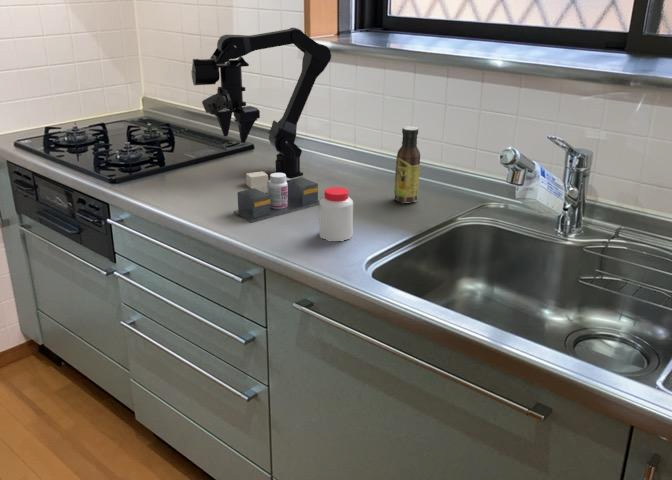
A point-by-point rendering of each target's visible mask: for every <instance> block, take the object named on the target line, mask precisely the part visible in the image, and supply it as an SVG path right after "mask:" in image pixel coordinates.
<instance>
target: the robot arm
mask: <svg viewBox="0 0 672 480" xmlns="http://www.w3.org/2000/svg"><path fill="white" fill-rule="evenodd" d="M289 45H294V46H296V48H298V49H299V51H301V52H302V53H303V56H302V62H301V63H302V64H301V73H300V75H299V77H298V79H297V83H296V84H295V87H294V90H293V91H292V94H291V96H290V98H289V101H288V103H287V106H286V108H285V110H284V113H283V115H282V117H281V118H280V119H279V120H278V121H276V120H273V121H272V123H271V127H270V129H269V130H268V131H267V132H268V134H269V135H268V141H269V143H270V145H271V146H272V147H273V148H275V151H276V152H278V154H276V160H275V171H274V172H273V173H284V174H286V177H287V178H289V179H292V178H295V177H300V176H303V175H304V173H303V172H302V171H301V159H300V158H301V155H302V153H303V150H302V149H301V148H300V147H299V146H298V145H297V144H296V143H295V142H296V138H297V127H298V122H299V121H300V118H301V115H302V114H303V111H304V108H305V106H306V104H307V101H308V99H309V96H310V94H311V91H312V90H313V87H314V85H315V82H316V80H317V78H318V77H319V76H320V75H321V74H322V73H323V72H324V70H325V69H326V67H328V65H329V63H330V62H331V59H332V53H331V49H330V48H329V47H328V46H327V45H324V44H322V43H319V42H317V41H315V40H314V39H312V38H311V37H309V36H308V35H307V34H305V33H304V31H302V29H300V28H297V27H290V28H286V29H281V30H275V31H269V32H263V33H258V34H253V35H252V34H250V35H247V34H246V35H244V34H223V35H221V36H220V37H219V39H218V40H217V43H216V46H217V47H216V49H215V50H214V52H213V53H212V54H211V56H210V57H209V58H206V59H203V58H202V59H201V58H200V59H199V58H193V59H192V66H191V79H192V83H193V86H209V85H216V83H217V82H219V81H220V86H218V87H217V88H216V90H217V92H216V93H215V94H213V95H210V96H209V97H207V98H205V99H203V100H202V101H201V103H202V106H203V108H204V111H205V113H207V114H210V115H213V116H215V118H216V119H217V121H218V123H219V127H220V130H221V132H222V134H223V137H228V135H229V132H230V127H231V122H232V116H233V117H234V119H233V121H234V122H235V124H237V125H238V132H239V139H240V143H241V144H244V143H246V142H247V138H248V136H249V134H250V132H251V130H252V128H253V126H254V124H255V123H256V122H257V121H258V119H260V118H261V114H260V113H261V112H260V110H259V108H258V107H255V106H252V105H247V102H246V101H244V98H243V96H244V95H243V92H245V91H246V86H243V74H242V67H249V66H250V63H248V62H247V61H246V60H245V59H244V56H247V55H248V54H251V53H252V52H255V51H259V50H265V49H272V48H276V47H282V46H289Z"/></svg>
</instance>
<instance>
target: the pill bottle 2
mask: <svg viewBox="0 0 672 480" xmlns="http://www.w3.org/2000/svg"><path fill="white" fill-rule="evenodd" d="M349 194H350V193H349V189H347V188H345V187H341V186H340V187H339V186H334V187H333V186H332V187H328V188H325V189H324V196H323V197H322V198H320V199H319V200H320V204H319V237H320V238H321V239H322V238H323V239H326V240H331V241H341V240H346V239H349V238H350V237H352V238H353V236H352V235H354V234H353V232H354V231H353V230H354V229H353V228H354V201H353V199H352V198H351V197H350V196H349ZM323 239H322V240H323ZM326 240H325V241H326ZM349 240H350V239H349Z"/></svg>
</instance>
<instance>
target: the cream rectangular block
mask: <svg viewBox="0 0 672 480" xmlns="http://www.w3.org/2000/svg"><path fill="white" fill-rule="evenodd" d="M245 177H246V187H248V188H249V189H253V188H255V189H261V188H262V189H263V188H267V181H269V175H268V174H267V173H266V172H265V171H254V172H247V173H246V174H245Z"/></svg>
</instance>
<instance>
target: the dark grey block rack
mask: <svg viewBox="0 0 672 480" xmlns="http://www.w3.org/2000/svg"><path fill="white" fill-rule="evenodd" d="M290 179H291V180H287V181H286V182H287V185H288V206H287V207H286V208H283V209H274V208H271V207H270V195H268V193H266V192H263V191H261V190H260V189H258V188H253V189H251V188H249V189H245V190H241V191H237V210H234V211H233V214H234V215H236V216H238V217H240V218H241V219H244V220H246V221H248V222H249V223H251V224H252V223H255V222H258V221H259V222H260V221H262V220H267V219H270V218H271V219H272V218H273V217H278V216H281V214H282V215H284V214H285V213H286V214H289V213H292V212H295V211H296V210H297V211H301V210H304V209H308V208H311V206H312V207H315V206H320V200H321V199H319V184H318V182H315V181H313V180H310V179H308V178H305V177H303V176H302V177H300V176H299V177H297V178H290Z"/></svg>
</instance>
